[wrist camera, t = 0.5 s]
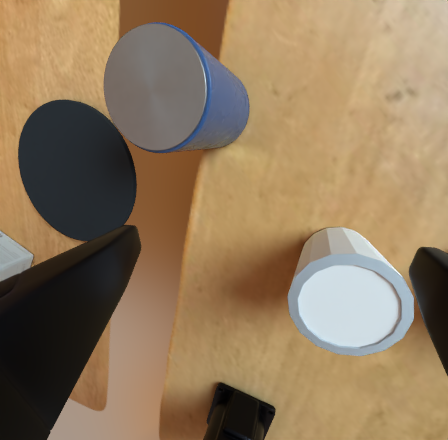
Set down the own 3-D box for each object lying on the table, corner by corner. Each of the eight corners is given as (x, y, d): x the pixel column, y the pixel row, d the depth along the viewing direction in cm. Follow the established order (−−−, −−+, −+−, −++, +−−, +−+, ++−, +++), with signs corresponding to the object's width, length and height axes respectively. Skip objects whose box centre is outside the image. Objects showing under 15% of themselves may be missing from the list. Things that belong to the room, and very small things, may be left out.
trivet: (129, 256, 28) (125, 259, 28) (25, 217, 31) (20, 218, 31) (145, 118, 24) (141, 118, 23) (21, 86, 26) (14, 85, 26)
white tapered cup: (297, 215, 22) (293, 245, 16) (391, 224, 20) (430, 264, 14) (289, 288, 24) (282, 343, 18) (374, 303, 22) (400, 370, 16)
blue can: (239, 156, 22) (196, 166, 14) (173, 138, 23) (97, 138, 15) (258, 76, 20) (221, 30, 12) (185, 61, 21) (105, 10, 13)
